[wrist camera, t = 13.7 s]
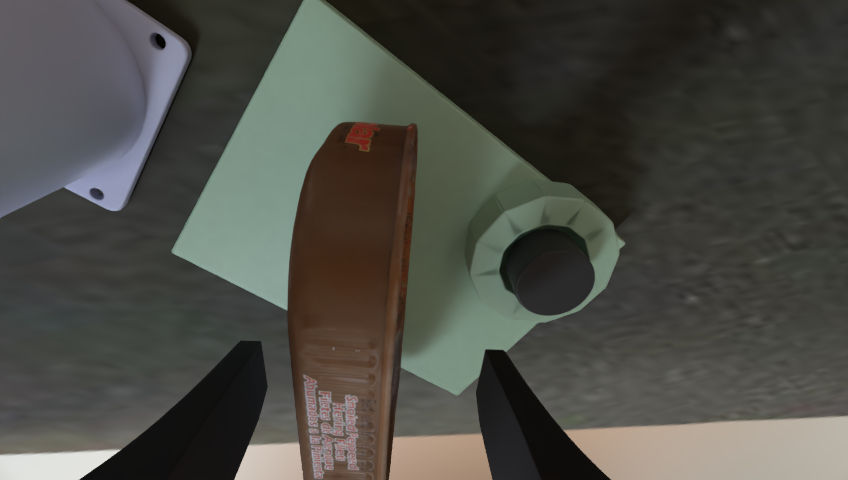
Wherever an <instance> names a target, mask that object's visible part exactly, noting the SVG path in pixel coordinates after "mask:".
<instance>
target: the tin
mask: <svg viewBox="0 0 848 480" xmlns="http://www.w3.org/2000/svg"><path fill="white" fill-rule="evenodd" d="M417 151H418V128H417V124H415V123H411V124H409V125H408V126H399V125H385V124H377V123H369V122H342V123H340V124H338V125H337V126H336V127H335V128H334V129H333V130H332V131H331V132H330V134H329V135H328V137H327V138H326V140H325V142H324V143H323V144H322V146H321V147H320V148H319V150H318V151H317V152H316V154H315V155H314V157H313V159H312V160H311V162H310V165H309V167H308V169H307V172H306V175H305V178H304V182H303V185H302V188H301V192H300V197H299V201H298V206H297V211H296V217H295V222H294V227H293V234H292V241H291V249H290V259H289V273H288V305H287V317H288V333H289V345H290V355H291V368H292V378H293V388H294V396H295V407H296V418H297V425H298V436H299V444H300V453H301V461H302V470H303V479H304V480H389V473H390V464H391V454H392V453H391V452H392V443H393V432H394V421H395V411H396V403H397V395H398V388H399V380H400V368H401V357H402V341H403V332H404V321H405V320H404V319H405V309H406V296H407V284H408V271H409V260H410V249H411V237H412V226H413V212H414V200H415V183H416V182H415V180H416V171H417Z"/></svg>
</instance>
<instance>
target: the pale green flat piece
mask: <svg viewBox="0 0 848 480" xmlns="http://www.w3.org/2000/svg"><path fill="white" fill-rule="evenodd" d="M342 122H369V123H377V124H385V125H399V126H408V125H409V124H411V123H415V124H417V128H418V151H417V171H416V180H415V182H416V183H415V200H414V212H413V226H412V237H411V249H410V260H409V271H408V284H407V296H406V309H405V319H404V320H405V321H404V332H403V341H402V357H401V368H403V369H405V370H407V371H409V372H411V373H413V374H415V375H417V376H419V377H421V378H423V379H425V380H427V381H429V382H431V383H433V384H435V385H437V386H439V387H441V388H443V389H445V390H447V391H449V392H451V393H453V394H455V395H459V394H460V393H461V392H462V391H463V390H464V389H466V388H467V387H468V386H469V385H470V384H471V383H472V382H473V381H474V380H475V379H477V378H478V377H479V376H480V372H481V367H482V362H483V358H484V353H485V349H493V350H504V351H505V352H506V351H508V350H509V349H510V348H511V347H512V346H513V345H514V344H515V343H516V342H517V341H519V340H520V339H521V338H522V337H523V336H524V335H525V334H526V333H527V332H529V331H530V330H531V329H532V328H533V327H534V326H535V325H536V324H537V323H538V322H548V321H551V320H554V319H557V318H560V317H563V316H566V315H568V314H571V313H574V312H577V311H578V310H581V309H582V308H583V307H584V306H585V305H586V304H588V303H589V302H590V301H591V300H592V299H593V298H594V297H596V296H597V295H598V294H599V293H600V292H601V291H602V290H604V289H605V288H606V285H607V284H608V281H609V279H610V277H611V274H612V272H613V269H614V267H615V264H616V262H617V260H618V257H619V254H620V253H619V249H620V248H621V247H622V246H624V245H625V242H624V241H623V240H622V239H621V238H620V237H619V236H618V235H617V234H616V233H615V229H614V225H613V222H612V221H611V220H610V219H609V218H608V217H607V216H606V215H605V214H604V213H603V212H602V211H601V210H600V209H599V208H598V207H597V206H596V205H595V204H594V203H593V202H592V201H590V200H589V199H588V198H587V197H585V196H584V195H583V194H582V193H580V192H579V191H578V190H577V189H576V188H574V187H573V186H572V185H570V184H568V183H560V182H552V181H551V180H549V179H548V178H547V177H546V176H544V175H543V174H542V173H541V172H539V171H538V170H537V169H536V168H534V167H533V166H532V165H531V164H529V163H528V162H527V161H526V160H524V159H523V158H522V157H521V156H519V155H518V154H517V153H516V152H514V151H513V150H512V149H511V148H509V147H508V146H507V145H506V144H504V143H503V142H502V141H501V140H499V139H498V138H497V137H496V136H494V135H493V134H492V133H491V132H489V131H488V130H487V129H486V128H484V127H483V126H482V125H481V124H479V123H478V122H477V121H476V120H474V119H473V118H472V117H471V116H469V115H468V114H467V113H466V112H464V111H463V110H462V109H461V108H459V107H458V106H457V105H456V104H454V103H453V102H452V101H451V100H449V99H448V98H447V97H446V96H444V95H443V94H442V93H441V92H439V91H438V90H437V89H436V88H434V87H433V86H432V85H431V84H429V83H428V82H427V81H426V80H424V79H423V78H422V77H421V76H419V75H418V74H417V73H416V72H414V71H413V70H412V69H411V68H409V67H408V66H407V65H406V64H404V63H403V62H402V61H401V60H399V59H398V58H397V57H396V56H394V55H393V54H392V53H391V52H389V51H388V50H387V49H386V48H384V47H383V46H382V45H381V44H379V43H378V42H377V41H376V40H374V39H373V38H372V37H371V36H369V35H368V34H367V33H366V32H364V31H363V30H362V29H361V28H359V27H358V26H357V25H356V24H354V23H353V22H352V21H351V20H349V19H348V18H347V17H346V16H344V15H343V14H342V13H341V12H339V11H338V10H337V9H336V8H334V7H333V6H332V5H331V4H329V3H328V2H327V1H326V0H303V2H302V4H301V6H300V7H299V9H298V11H297V13H296V15H295V17H294V19H293V21H292V23H291V25H290V26H289V28H288V30H287V32H286V34H285V36H284V38H283V40H282V42H281V44H280V45H279V47H278V49H277V51H276V53H275V55H274V57H273V59H272V61H271V63H270V64H269V66H268V68H267V70H266V72H265V74H264V76H263V78H262V80H261V82H260V83H259V85H258V87H257V89H256V91H255V93H254V95H253V97H252V99H251V101H250V103H249V104H248V106H247V108H246V110H245V112H244V114H243V116H242V118H241V120H240V122H239V123H238V125H237V127H236V129H235V131H234V133H233V135H232V137H231V139H230V141H229V142H228V144H227V146H226V148H225V150H224V152H223V154H222V156H221V158H220V160H219V161H218V163H217V165H216V167H215V169H214V171H213V173H212V175H211V177H210V179H209V180H208V182H207V184H206V186H205V188H204V190H203V192H202V194H201V196H200V198H199V199H198V201H197V203H196V205H195V207H194V209H193V211H192V213H191V215H190V217H189V218H188V220H187V222H186V224H185V226H184V228H183V230H182V232H181V234H180V236H179V237H178V239H177V241H176V243H175V245H174V247H173V249H172V253H174V254H176V255H178V256H180V257H182V258H184V259H186V260H188V261H190V262H192V263H194V264H196V265H198V266H200V267H202V268H204V269H206V270H208V271H210V272H212V273H214V274H216V275H218V276H220V277H222V278H224V279H226V280H228V281H230V282H232V283H234V284H236V285H238V286H240V287H242V288H244V289H246V290H248V291H250V292H252V293H254V294H256V295H258V296H260V297H261V298H263V299H265V300H267V301H269V302H271V303H273V304H275V305H277V306H279V307H281V308H283V309H285V310H287V305H288V273H289V259H290V249H291V241H292V234H293V227H294V222H295V217H296V211H297V206H298V201H299V197H300V192H301V188H302V185H303V182H304V178H305V175H306V172H307V169H308V167H309V165H310V162H311V160H312V159H313V157H314V155H315V154H316V152H317V151H318V150H319V148H320V147H321V146H322V144H323V143H324V142H325V140H326V138H327V137H328V135H329V134H330V132H331V131H332V130H333V129H334V128H335V127H336V126H337V125H338V124H340V123H342ZM541 229H554V230H559V231H562V232H564V233H566V234H568V235H569V236H570V237H571V238H572V239H573V240H574V241H575V242H576V244H577V245H578V246H579V247H580V249H581V250H582V251H583V253H584V254H585V255H586V257H587V258H588V259H589V261H590V262H591V263H592V265H593V268H594V271H595V282H594V286H593V289H592V291H591V293H590V294H589V296H588V297H587V298H586V299H585V300H584V301H583V302H582V303H581V304H580V305H579V306H577V307H576V308H574V309H572V310H570V311H568V312H566V313H563V314H559V315H553V316H544V315H538V314H535V313H532V312H530V311H528V310H527V309H525V308H524V307H523V306H522V305H521V304H520V303H519V301H518V299H517V297H516V295H515V292H514V290H513V287H512V285H511V282H510V280H509V277H508V275H507V272H506V259H507V256H508V253H509V251H510V249H511V248H512V246H513V245H514V244H515V243H516V242H517V241H518V240H519V239H520V238H522V237H523V236H525V235H527V234H529V233H531V232H533V231H537V230H541Z"/></svg>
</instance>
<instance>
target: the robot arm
mask: <svg viewBox="0 0 848 480" xmlns="http://www.w3.org/2000/svg"><path fill="white" fill-rule="evenodd" d="M157 34H160V35H161V36H162V37H163V38H164V39H165V42H166V46H165V48H164V49H163V48H161V47H160V46H159V45H158V44H157V42H156V35H157ZM191 56H192V53H191V48H190V46H189V45H188V43H187V42H186V41H185V40H184V39H183V38H182V37H180V36H179V35H177V34H176V33H174V32H173V31H171V30H170V29H169V28H167V27H166V26H164V25H163V24H161V23H160V22H158V21H157V20H155V19H154V18H152V17H151V16H149V15H148V14H146V13H145V12H143V11H142V10H140V9H139V8H138V7H136V6H135V5H133V4H132V3H130V2H129V1H127V0H0V217H2V216H5V215H7V214H9V213H11V212H13V211H15V210H17V209H19V208H21V207H23V206H25V205H27V204H29V203H31V202H33V201H35V200H38V199H40V198H42V197H44V196H46V195H48V194H50V193H52V192H54V191H56V190H58V189H60V188H62V187H64V188H66V189H68V190H70V191H72V192H74V193H76V194H78V195H80V196H82V197H84V198H86V199H88V200H90V201H92V202H94V203H96V204H98V205H100V206H102V207H104V208H106V209H108V210H111V211H117V210H120V209H122V208H123V207H125V206H126V204H127V203H128V201H129V198H130V196H131V194H132V192H133V189H134V187H135V185H136V183H137V180H138V178H139V176H140V174H141V171H142V169H143V167H144V164H145V162H146V160H147V158H148V155H149V153H150V151H151V149H152V146H153V144H154V142H155V140H156V137H157V135H158V133H159V130H160V128H161V126H162V124H163V121H164V119H165V117H166V115H167V112H168V110H169V108H170V106H171V103H172V101H173V99H174V97H175V94H176V92H177V90H178V87H179V85H180V83H181V81H182V78H183V76H184V74H185V72H186V69H187V67H188V65H189V63H190V60H191ZM96 188H97V189H100V190H101V191H102V192H103V194H104V196H102V195H100V194H99V193H98V192H97V190H96ZM267 387H268V386H267V379H266V372H265V366H264V359H263V352H262V345H261V341H240V342H239V343H238V344H237V345H236V346H235V347H234V348H233V349H232V350H231V351H230V352H229V353H228V354H227V355H226V356H225V357H224V358H223V359H222V360H221V361H220V362H219V363H218V364H217V365H216V366H215V367H214V368H213V370H212V371H211V372H210V373H209V374H208V375H207V376H206V377H204V378H203V379H202V380H201V381H200V382H199V383H198V384H197V385H196V386H195V387H194V388H193V389H192V390H191V391H190V392H189V393H188V394H187V395H186V396H185V397H184V398H183V399H181V400H180V401H179V402H178V403H177V404H176V405H175V406H174V407H173V408H171V409H170V410H169V411H168V412H167V413H166V414H165V415H164V416H162V417H161V418H160V419H159V420H158V421H157V422H155V423H154V424H153V425H152V426H151V427H149V428H148V429H147V430H146V431H145V432H143V433H142V434H141V435H140V436H138V437H137V438H136V439H135V440H133V441H132V442H131V443H129V444H128V445H127V446H126V447H124V448H123V449H122V450H120V451H119V452H118V453H116V454H115V455H114V456H112V457H111V458H110V459H108V460H107V461H105V462H104V463H103V464H101V465H100V466H98V467H97V468H95V469H94V470H92V471H91V472H90V473H88V474H87V475H85V476H84V477H83V478H81V479H80V480H234V479H235V476H236V474H237V471H238V469H239V466H240V464H241V462H242V459H243V457H244V454H245V452H246V449H247V447H248V445H249V442H250V440H251V437H252V435H253V432H254V430H255V427H256V425H257V422H258V420H259V416H260V413H261V409H262V406H263V402H264V399H265V395H266V391H267ZM476 396H477V406H478V414H479V422H480V427H481V432H482V436H483V440H484V445H485V449H486V453H487V457H488V462H489V466H490V470H491V475H492V479H493V480H610V478H608V477H607V476H606V475H605V474H604V473H603V472H602V471H601V470H600V469H599V468H598V467H597V466H596V465H595V464H594V463H593V462H592V461H591V460H590V459H589V458H588V457H587V456H586V455H585V454H584V453H583V452H582V451H581V450H580V449H579V448H578V447H577V446H576V445H575V443H574V442H573V441H572V440H571V439H570V438H569V437H568V436H567V434H566V433H565V432H564V431H563V430H562V429H561V427H560V426H559V425H558V424H557V423H556V421H555V420H554V419H553V418H552V417H551V415H550V414H549V413H548V411H547V410H546V409H545V408H544V406H543V405H542V404H541V402H540V401H539V400H538V398H537V397H536V396H535V394H534V393H533V392H532V390H531V389H530V387H529V386H528V385H527V383H526V382H525V380H524V379H523V377H522V376H521V375H520V373H519V372H518V370H517V369H516V367H515V366H514V364H513V363H512V361H511V360H510V358H509V357H508V355H507V353H506V352H505V351H504V350H493V349H485V353H484V358H483V362H482V367H481V372H480V376H479V381H478V386H477V390H476Z"/></svg>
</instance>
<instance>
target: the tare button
mask: <svg viewBox="0 0 848 480" xmlns="http://www.w3.org/2000/svg"><path fill="white" fill-rule="evenodd" d="M506 272H507V275H508V277H509V280H510V282H511V285H512V287H513V290H514V292H515V295H516V297H517V299H518V301H519V303H520V304H521V305H522V306H523V307H524V308H525V309H527V310H528V311H530V312H532V313H535V314H538V315H544V316H553V315H559V314H563V313H566V312H568V311H570V310H572V309H574V308H576V307H577V306H579V305H580V304H581V303H582V302H583V301H584V300H585V299H586V298H587V297H588V296H589V294H590V293H591V291H592V289H593V286H594V282H595V271H594V268H593V265H592V263H591V262H590V261H589V259H588V258H587V257H586V255H585V254H584V253H583V251H582V250H581V249H580V247H579V246H578V245H577V244H576V242H575V241H574V240H573V239H572V238H571V237H570V236H569V235H568V234H566V233H564V232H562V231H559V230H554V229H541V230H537V231H533V232H531V233H529V234H527V235H525V236H523V237H522V238H520V239H519V240H518V241H517V242H516V243H515V244H514V245H513V246H512V248H511V249H510V251H509V253H508V256H507V259H506Z"/></svg>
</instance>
